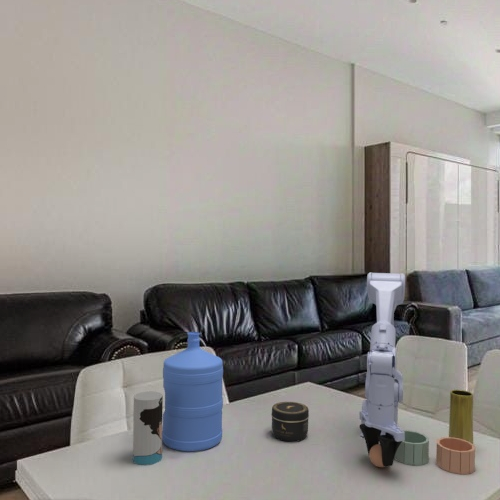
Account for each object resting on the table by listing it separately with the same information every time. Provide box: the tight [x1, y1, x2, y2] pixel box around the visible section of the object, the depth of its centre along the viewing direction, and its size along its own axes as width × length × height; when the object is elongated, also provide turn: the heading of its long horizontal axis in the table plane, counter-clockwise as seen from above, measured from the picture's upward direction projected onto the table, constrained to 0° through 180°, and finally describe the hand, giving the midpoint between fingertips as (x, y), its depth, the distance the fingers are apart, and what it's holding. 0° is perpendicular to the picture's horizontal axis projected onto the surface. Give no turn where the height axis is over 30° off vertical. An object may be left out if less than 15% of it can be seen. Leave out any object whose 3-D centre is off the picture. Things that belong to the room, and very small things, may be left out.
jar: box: [271, 401, 310, 443], centre depth 129 cm, size 10×10×8 cm
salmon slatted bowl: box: [435, 436, 476, 475], centre depth 112 cm, size 8×8×5 cm
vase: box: [448, 389, 474, 445], centre depth 122 cm, size 6×6×14 cm
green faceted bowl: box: [394, 429, 430, 466], centre depth 116 cm, size 8×8×5 cm
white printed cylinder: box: [132, 390, 164, 466], centre depth 114 cm, size 7×7×15 cm
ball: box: [368, 443, 386, 468], centre depth 111 cm, size 5×5×5 cm
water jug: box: [162, 331, 224, 452], centre depth 125 cm, size 16×16×28 cm
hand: (380, 460), depth 111 cm, fingers closed on ball, 5 cm apart
